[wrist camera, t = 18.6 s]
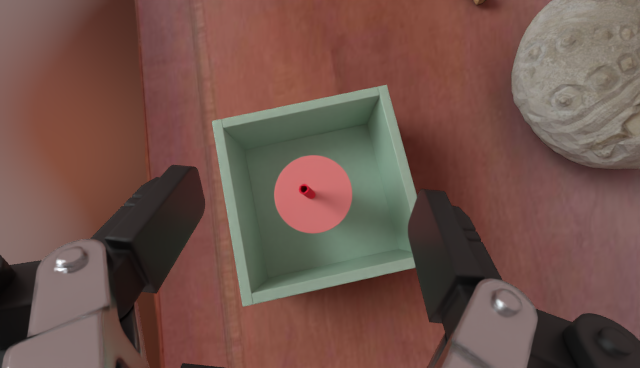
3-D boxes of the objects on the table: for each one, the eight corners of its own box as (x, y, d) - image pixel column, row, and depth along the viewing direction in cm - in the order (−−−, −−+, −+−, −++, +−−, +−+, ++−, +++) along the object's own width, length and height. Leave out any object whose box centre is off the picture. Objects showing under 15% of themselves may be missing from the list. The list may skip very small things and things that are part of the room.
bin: (263, 286, 28) (242, 307, 21) (238, 146, 30) (211, 120, 23) (406, 254, 28) (435, 263, 21) (371, 118, 30) (386, 84, 23)
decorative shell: (666, 180, 29) (843, 157, 19) (492, 174, 29) (579, 147, 19) (642, 25, 32) (787, -67, 22) (484, 20, 32) (556, -72, 22)
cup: (283, 193, 28) (244, 178, 17) (327, 163, 28) (319, 126, 17) (314, 237, 28) (296, 256, 16) (358, 206, 28) (373, 201, 16)
